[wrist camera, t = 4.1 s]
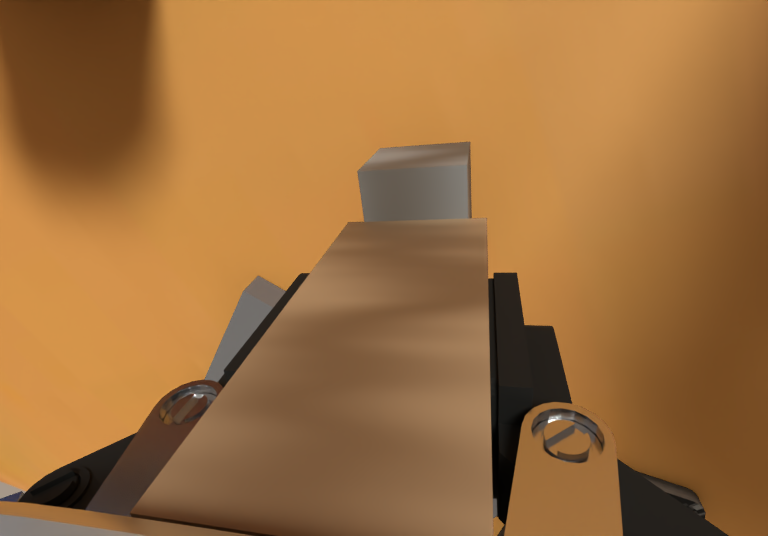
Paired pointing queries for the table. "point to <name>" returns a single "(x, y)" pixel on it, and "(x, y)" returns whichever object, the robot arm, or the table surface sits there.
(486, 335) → the tan block
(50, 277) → the table surface
